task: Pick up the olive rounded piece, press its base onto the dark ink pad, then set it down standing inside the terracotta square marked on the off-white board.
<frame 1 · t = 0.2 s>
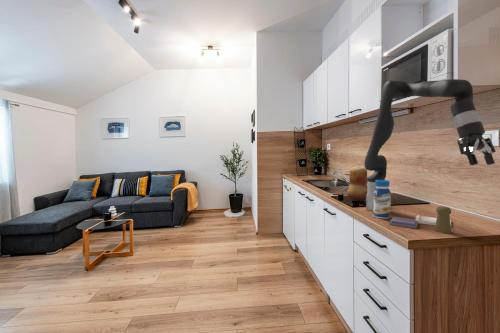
hand: (482, 164, 90), 30 cm above the worktop, tool tilted 20°, fingers open, 8 cm apart
beverage bottle: (381, 217, 131), on the worktop
marked board: (432, 221, 120), on the worktop
ink pad: (403, 224, 118), on the worktop
butternut squash: (357, 201, 170), on the worktop
olive rounded piece: (442, 231, 107), on the worktop
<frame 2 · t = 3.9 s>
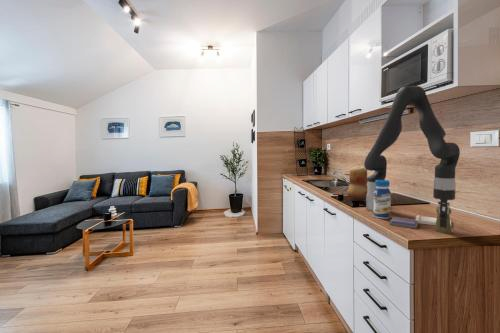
hand: (443, 226, 107), 2 cm above the worktop, tool pointing down, fingers closed on olive rounded piece, 4 cm apart
olive rounded piece: (442, 231, 107), on the worktop, touching gripper
everything else where it was.
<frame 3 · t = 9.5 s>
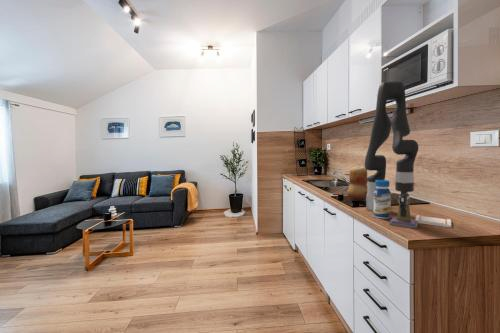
hand: (403, 215, 117), 4 cm above the worktop, tool pointing down, fingers closed on olive rounded piece, 4 cm apart
olive rounded piece: (403, 220, 118), point 2 cm above the worktop, touching gripper, ink pad
everything else where it was.
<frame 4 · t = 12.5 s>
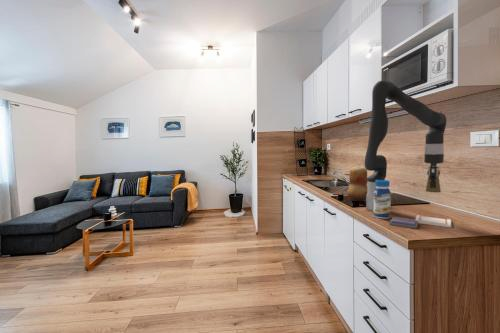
hand: (433, 187, 119), 17 cm above the worktop, tool pointing down, fingers closed on olive rounded piece, 4 cm apart
olive rounded piece: (433, 191, 119), point 15 cm above the worktop, touching gripper
everything else where it was.
when the fingers open (5 cm above the worktop, at t = 15.3 s): olive rounded piece drops 2 cm, resting on marked board.
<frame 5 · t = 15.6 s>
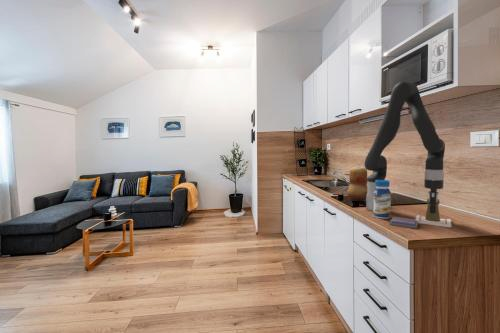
hand: (432, 211, 120), 5 cm above the worktop, tool pointing down, fingers open, 7 cm apart
olive rounded piece: (432, 220, 120), point 1 cm above the worktop, touching marked board
everything else where it was.
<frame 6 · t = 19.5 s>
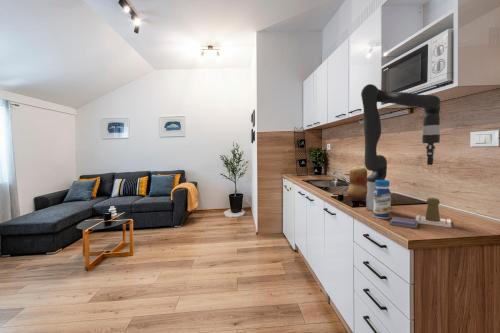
hand: (430, 164, 130), 28 cm above the worktop, tool pointing down, fingers open, 8 cm apart
nothing on the worktop moved.
at the end: olive rounded piece 0.1 cm off-centre on the marked board, point 0.8 cm above the marked board's base; olive rounded piece tilted 0°; the gripper is holding nothing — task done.
